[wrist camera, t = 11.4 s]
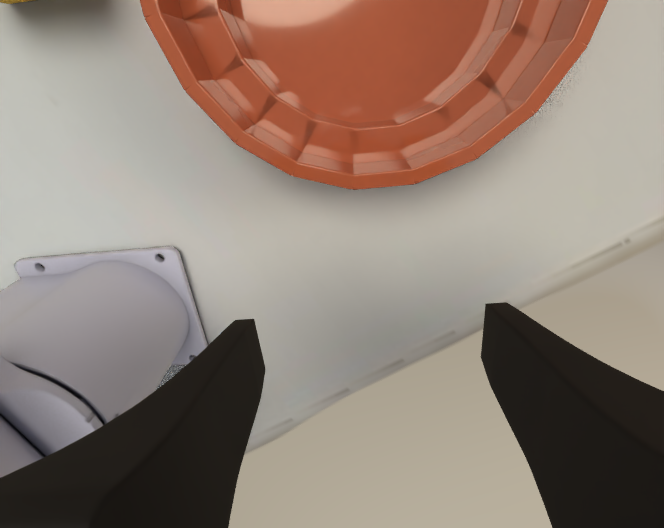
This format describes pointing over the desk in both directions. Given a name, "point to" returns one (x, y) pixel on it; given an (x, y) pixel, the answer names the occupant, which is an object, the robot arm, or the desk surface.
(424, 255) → the desk surface
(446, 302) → the desk surface
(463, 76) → the bowl
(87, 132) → the desk surface
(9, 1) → the dish sponge
